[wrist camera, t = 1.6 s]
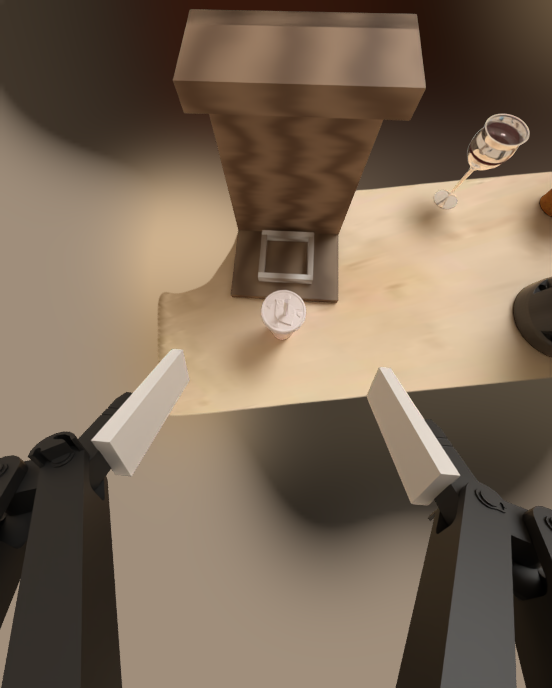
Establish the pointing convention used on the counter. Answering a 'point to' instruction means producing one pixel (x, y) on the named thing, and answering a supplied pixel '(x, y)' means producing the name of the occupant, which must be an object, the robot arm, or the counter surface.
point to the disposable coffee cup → (547, 203)
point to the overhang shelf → (296, 127)
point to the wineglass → (489, 150)
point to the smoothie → (283, 313)
